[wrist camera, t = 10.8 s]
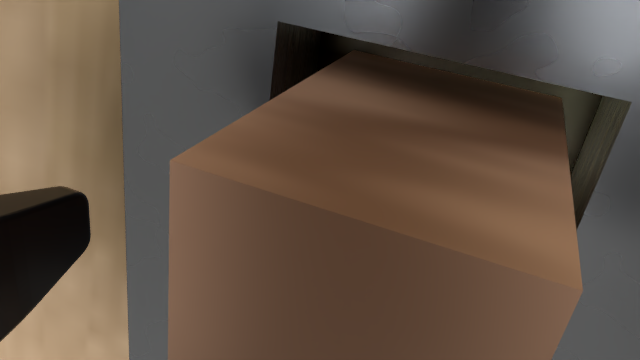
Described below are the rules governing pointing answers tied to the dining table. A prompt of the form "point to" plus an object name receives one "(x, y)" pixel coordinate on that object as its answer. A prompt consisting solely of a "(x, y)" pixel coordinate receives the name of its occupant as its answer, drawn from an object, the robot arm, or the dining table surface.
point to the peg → (376, 223)
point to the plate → (402, 33)
